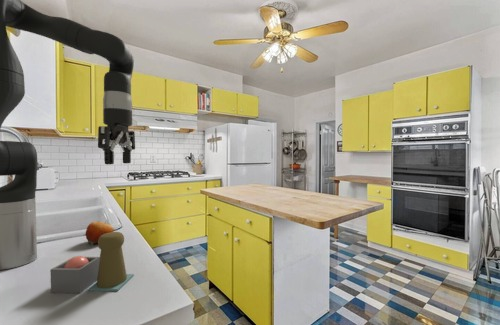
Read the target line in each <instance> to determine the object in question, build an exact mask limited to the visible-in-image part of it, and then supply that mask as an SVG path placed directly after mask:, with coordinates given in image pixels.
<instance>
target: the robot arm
mask: <svg viewBox="0 0 500 325" xmlns="http://www.w3.org/2000/svg"><path fill="white" fill-rule="evenodd" d="M7 27H8V28H12V29H15V30H18V31H19V30H20V31H23V32H28V33H32V34H35V35H37V36H41V37H44V38H47V39H50V40H53V41H54V42H58V43H61V44H62V45H64V46H68V47H70V48H73V49H75V50H77V51H80V52H82V53H84V54H88V55H97V56H99V57H101V58H104V59H106V61H108V62H109V66H108V68H109V69H108V71H107V72H105V73H104V77H103V98H102V117H103V118H102V119H103V120H102V121H103V122H102V123H103V124H104V125H105V126H104V125H102V126H101V125H99V126H98V128H97V129H98V132H97V133H98V134H97V147H98V149H102V151H104V152H103V157H104V158H103V159H104V165H114V162H115V152H114V150H115V148H116V146H120V148H121V149H122V163H123V164H131V162H132V161H131V160H132V158H131V157H132V156H131V153H132V151H133V150H136V136H135V135H136V133H135V131H134V130H129V127H131V126H133V100H132V84H131V83H132V77H133V72H134V55H133V52H132V51H131V49H130V48H129V47H128V46H127V44H126V42H125V41H123V39H121V38H120V37H118V36H116V35H114V34H113V33H110V32H107V31H102V30H97V29H93V28H90V27H88V26H86V25H84V24H81V23H80V22H77V21H74V20H72V19H69V18H65V17H60V16H54V15H53V16H51V15H48V14H45V13H42V12H40V11H39V10H36V9H34V8H32V7H31V6H29V5H27V4H26V3H24V2H23V1H22V0H0V130H1V129H2V125H3V123H4V121H5V120H6V118H7V117H8V116H9V115H10V114H11V112H13V111H14V110H15V108H16V107H17V106H18V105H19V104H20V103H21V102H22V100H23V99H24V97H25V95H26V94H25V93H26V90H25V88H26V87H25V73H24V69H23V67H22V64H21V61H20V59H19V57H18V55H17V53H16V51H15V49H14V47H13V45H12V43H11V40H10V38H9V36H8V31H7ZM37 175H38V152H37V148H36V147H35V146H34V144H33V143H31V142H28V141H13V140H0V176H1V177H2V176H3V177H4V176H14V178H13V179H12V180H11V181H10V182H8V183H7V184H5V185H2V186H0V271H1V270H9V269H14V268H18V267H21V266H24V265H27V264H29V263H32V262H33V261H35V260H37V258H38V247H37V245H38V242H37V240H38V239H37V208H36V190H37V184H38V182H37V181H38V180H37V179H38V178H37Z"/></svg>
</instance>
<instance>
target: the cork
mask: <svg viewBox="0 0 500 325" xmlns="http://www.w3.org/2000/svg"><path fill="white" fill-rule="evenodd" d="M124 243H125V237H124V234H123V232H120V231H113V232H109V233H106V234H103V235H101V236H100V237H99V239H98V243H97V246H98V248H99V250H100V253H99V254H100V255H99V257H100V261H99V269H98V277H97V281H96V282H97V287H99V288H110V287H114V286H117V285H119V284H121V283H123V282H124V281H125V280H126V279H127V275H126V274H127V270H126V263H125V258H124V253H123V252H124V251H123V248H122V247H123V245H124Z"/></svg>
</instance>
